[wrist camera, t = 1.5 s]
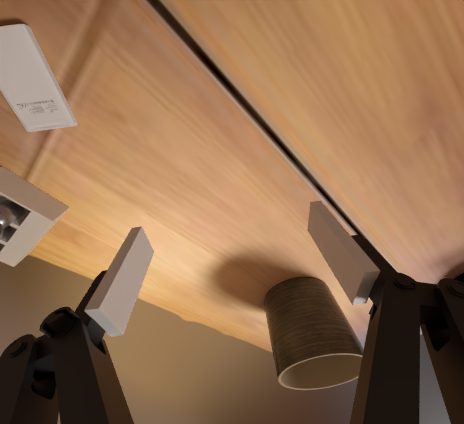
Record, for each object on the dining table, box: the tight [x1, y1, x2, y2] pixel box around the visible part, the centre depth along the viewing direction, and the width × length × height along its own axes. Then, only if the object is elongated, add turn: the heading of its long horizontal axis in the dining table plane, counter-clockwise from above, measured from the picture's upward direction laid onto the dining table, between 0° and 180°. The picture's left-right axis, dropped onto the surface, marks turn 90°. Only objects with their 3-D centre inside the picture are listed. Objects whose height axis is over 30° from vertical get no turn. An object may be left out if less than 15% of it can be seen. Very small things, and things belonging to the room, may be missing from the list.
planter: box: [264, 277, 364, 390], centre depth 56 cm, size 22×22×20 cm
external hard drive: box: [0, 24, 78, 132], centre depth 30 cm, size 2×8×12 cm
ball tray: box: [0, 166, 69, 267], centre depth 40 cm, size 18×12×5 cm, turn 130°
